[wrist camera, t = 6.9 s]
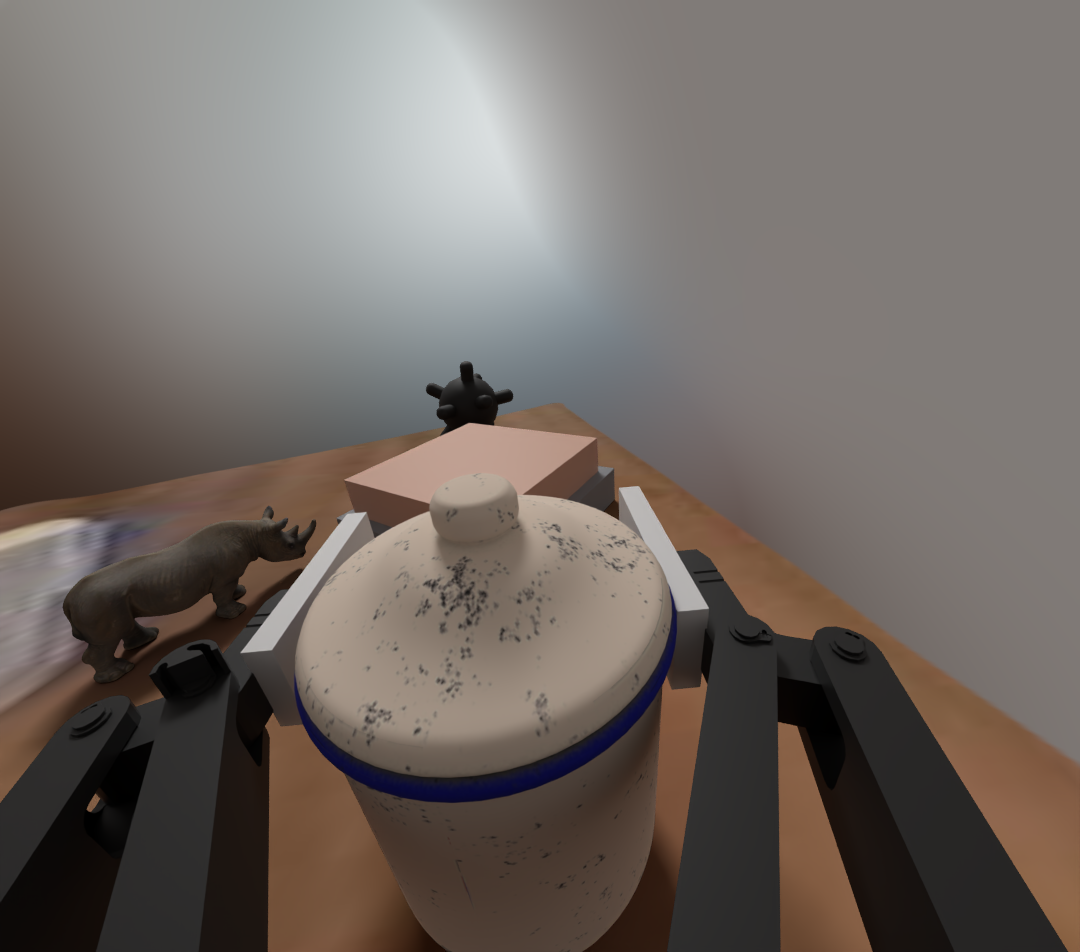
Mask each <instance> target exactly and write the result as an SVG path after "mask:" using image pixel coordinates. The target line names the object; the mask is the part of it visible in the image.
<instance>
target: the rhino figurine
mask: <svg viewBox="0 0 1080 952" xmlns="http://www.w3.org/2000/svg"><path fill="white" fill-rule="evenodd" d="M273 515H274V512H273V510H272V508H271V507H270V506H268V507H267V508H266V509H265V511H264V514H263V517H262V519H261V520H254V521H249V520H232V521H223V522H218V523H214V524H211V525H208V526H206V527H204V528H202V529H200V530H199V531H197V532H196V533H194V534H193V535H191V536H189V537H188V538H186V539H185V540H183V541H182V542H180V543H178V544H176V545H173V546H171V547H168V548H166V549H163V550H161V551H158V552H155V553H150V554H145V555H140V556H136V557H132V558H128V559H125V560H123V561H120V562H118V563H115V564H112V565H109V566H107V567H104V568H102V569H100V570H98V571H96V572H94V573H92V574H90V575H87V576H85V577H84V578H82V579H81V580H80V581H79V582H78V583H77V584H76V585H75V586H74V587H73V588H72V589H71V590H70V592H69V593H68V594H67V596H66V598H65V600H64V603H63V611H64V614H65V615H66V617H67V618H68V620H69V621H70V623H71V626H72V635H73V636H74V637H75V638H77V639H79V640H82V641H86V642H87V643H89V645H88V648H87V649H86V651H85V652H84V653H83V656H82V661H83V662H84V663H85V664H89V665H91V666H92V667H93V668H94V669H95V670H96V673H95V675H94V680H95V681H96V682H99V683H103V682H111V681H114V680H116V679H118V678H120V677H121V676H122V675H123V674H125V673H127V672H129V671H130V670H132V668H133V667H134V664H133V663H131V662H129V661H128V660H126V659H124V658H115V657H114V653H115V650H116V648H117V646H118V644H119V642H120V641H121V639H122V640H123V641H124V644H123V646H124V648H125V649H127V650H130V649H134V648H137V647H139V646H141V645H143V644H145V643H147V642H149V641H151V640H153V639H155V638H156V637H157V633H158V632H159V629H158V628H156V627H149V628H145V627H143V626H141V625H139V624H138V623H137V622H136V621H135V619H134V618H137V617H151V616H162V615H169V614H173V613H177V612H180V611H183V610H185V609H187V608H189V607H191V606H193V605H194V604H195V603H197V602H198V601H199V600H200V599H201V598H203V597H204V596H205V595H207V594H209V593H212V595H213V601H214V602H215V603H216V605H217V610H216V615H217V616H219V617H224V618H229V619H232V618H235V617H236V616H238V615H239V614H240V613H241V612H243V611H244V610H245V609H246V605H245V604H242V603H239V602H236V601H234V600H233V599H236V598H238V597H240V596H242V595H243V594H244V593H245V592H246V589H245V587H244V586H243V585H238V580H239V577H241V576H242V575H243V574H244V572H245V569H246V567H247V566H248V564H249V563H250V562H251V561H255V560H257V559H258V557H261V558H263V559H265V560H267V561H270V562H280V561H289V560H294V559H298V558H301V557H303V556H304V554H305V553H306V550H305V546H306V544H307V542H308V540H309V539H310V537H311V536H312V534H313V532H314V530H315V527H316V520H315V519H313V520H312V522H311V524H310V526H309V527H308V528H307V529H306V530H305V531H303V532H302V533H300V534H298V528H299V526H298V525H296V526H295V527H293V528H292V529H290V530H289V531H287V532H283V531H282V529H283V528H285V526H286V524H287V522H288V518H285V519H283V520H281V521H279V522H274V521H273V520H271V519H272V518H273Z"/></svg>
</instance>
